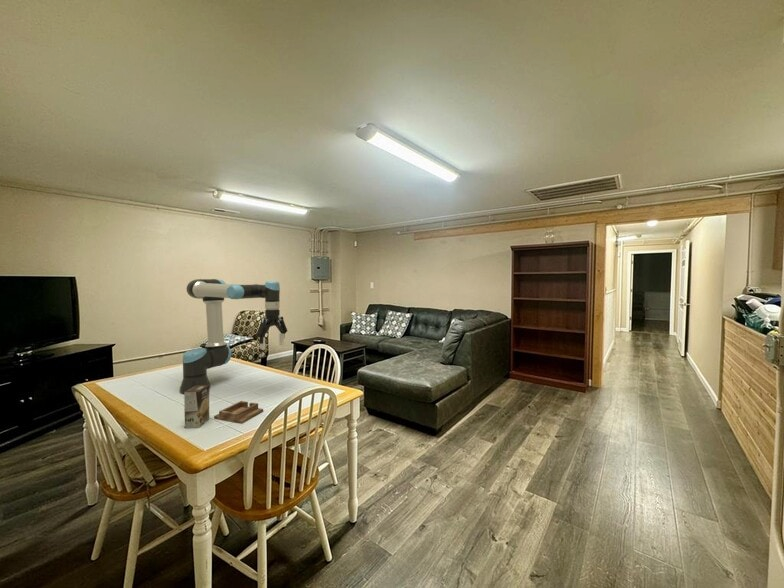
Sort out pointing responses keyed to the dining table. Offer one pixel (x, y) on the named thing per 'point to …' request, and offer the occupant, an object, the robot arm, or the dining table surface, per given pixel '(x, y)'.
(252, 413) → the pocket board
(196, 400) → the coffee box
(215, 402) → the dining table surface
